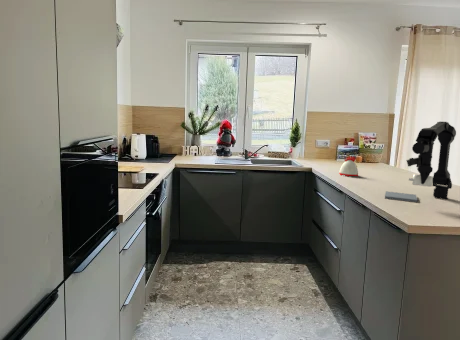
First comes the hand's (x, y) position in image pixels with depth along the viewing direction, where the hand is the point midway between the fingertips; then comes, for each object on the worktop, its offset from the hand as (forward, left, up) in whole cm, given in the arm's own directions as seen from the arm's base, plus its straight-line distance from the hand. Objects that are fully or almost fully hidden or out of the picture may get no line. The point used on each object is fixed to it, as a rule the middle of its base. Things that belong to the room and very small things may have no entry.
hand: (422, 183), depth 189 cm
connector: (0, 0, -1) cm, 1 cm away
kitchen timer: (+45, -81, -11) cm, 93 cm away
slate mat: (+9, -12, -11) cm, 19 cm away
